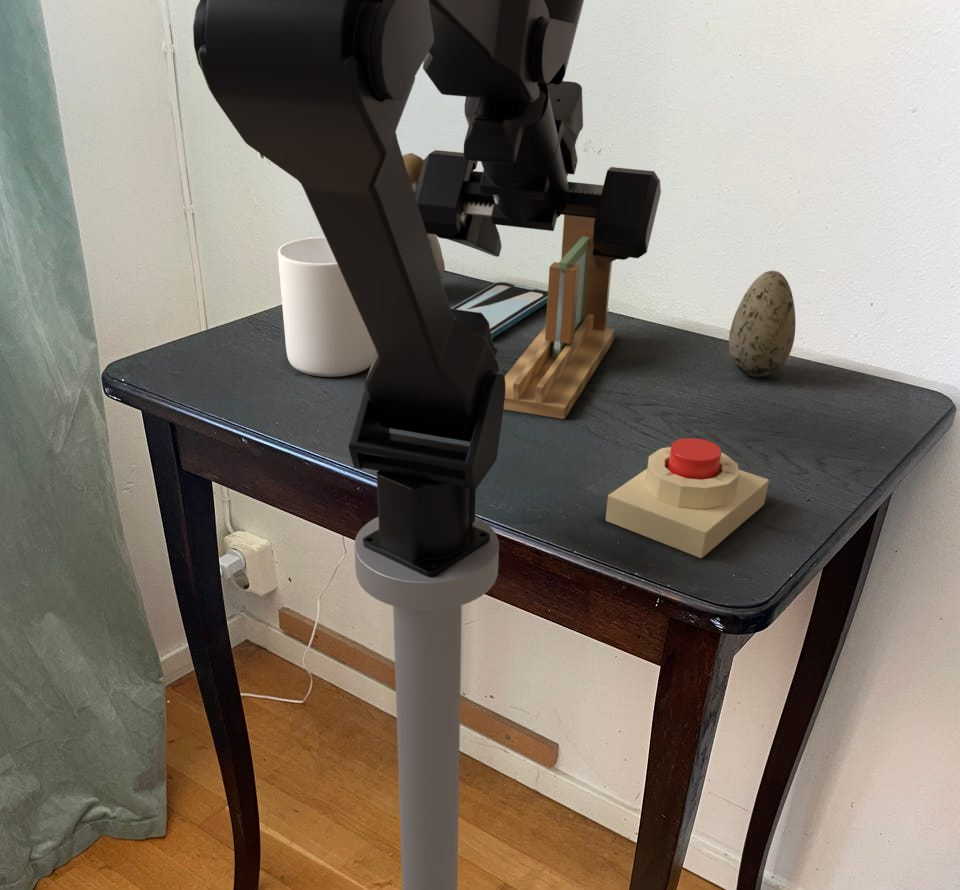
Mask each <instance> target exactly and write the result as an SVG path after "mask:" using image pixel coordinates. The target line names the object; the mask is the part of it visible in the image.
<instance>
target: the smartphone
mask: <svg viewBox="0 0 960 890" xmlns="http://www.w3.org/2000/svg"><path fill="white" fill-rule="evenodd" d="M547 300H548V290H546V289H545V290H544V289H540V288H536V287H530V286H525V285H521V284H516V283H511V282H508V281H507V282H506V281H497V282H494V283H492V284H491V285H488V286H487V287H485V288H484V289H482V290H480V291H479V292H476V293H474V294H473V295H471V296H470V297H468V298H466V299H464V300H463V301H461V302H459V303H458V304H456V305H454V306H452V307H450V309H457V310H464V311H472V312H479V313H482V314H483V315H484V317H485V318H486V319H487V320H488V322H489V325H490V332H491V338H492V339H494V338H496V337H497V336H499V335H500V334H501V333H503V332H504V331H506V330H508V329H509V328H511V327H512V326H514V325H516V324H518V322H520V321H522V320H523V319H525V318H527V317H528V316H529V315H531V314H532V313H534V312H536V311H537V310H539V309H540V308H542V307H543V306H545V305H547Z"/></svg>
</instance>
